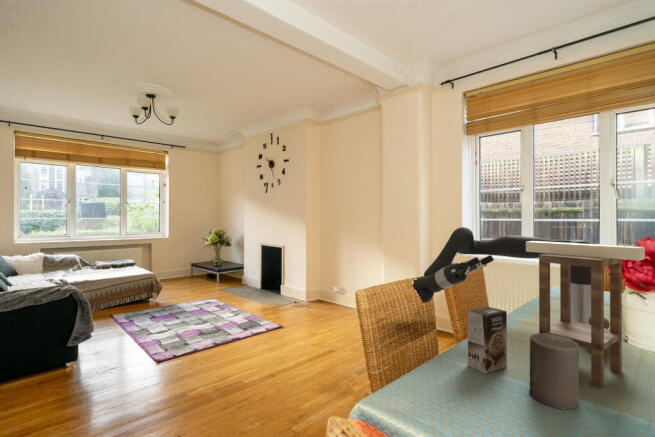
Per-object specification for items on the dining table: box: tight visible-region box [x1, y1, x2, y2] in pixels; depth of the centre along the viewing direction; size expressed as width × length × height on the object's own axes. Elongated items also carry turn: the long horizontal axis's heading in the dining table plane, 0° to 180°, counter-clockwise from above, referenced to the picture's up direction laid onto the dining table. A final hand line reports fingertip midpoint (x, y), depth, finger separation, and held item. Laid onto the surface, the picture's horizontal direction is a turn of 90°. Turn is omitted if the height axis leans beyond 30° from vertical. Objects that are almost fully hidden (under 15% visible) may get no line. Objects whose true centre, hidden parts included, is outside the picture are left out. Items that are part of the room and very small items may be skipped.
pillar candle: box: [528, 333, 580, 410], centre depth 78 cm, size 10×10×15 cm
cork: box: [586, 317, 610, 358], centre depth 103 cm, size 6×6×11 cm
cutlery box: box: [526, 241, 646, 262], centre depth 92 cm, size 4×26×3 cm, turn 34°
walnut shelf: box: [538, 253, 623, 390], centre depth 92 cm, size 16×14×32 cm
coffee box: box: [467, 306, 508, 375], centre depth 95 cm, size 9×6×16 cm
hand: (485, 258), depth 115 cm, fingers open, 8 cm apart
